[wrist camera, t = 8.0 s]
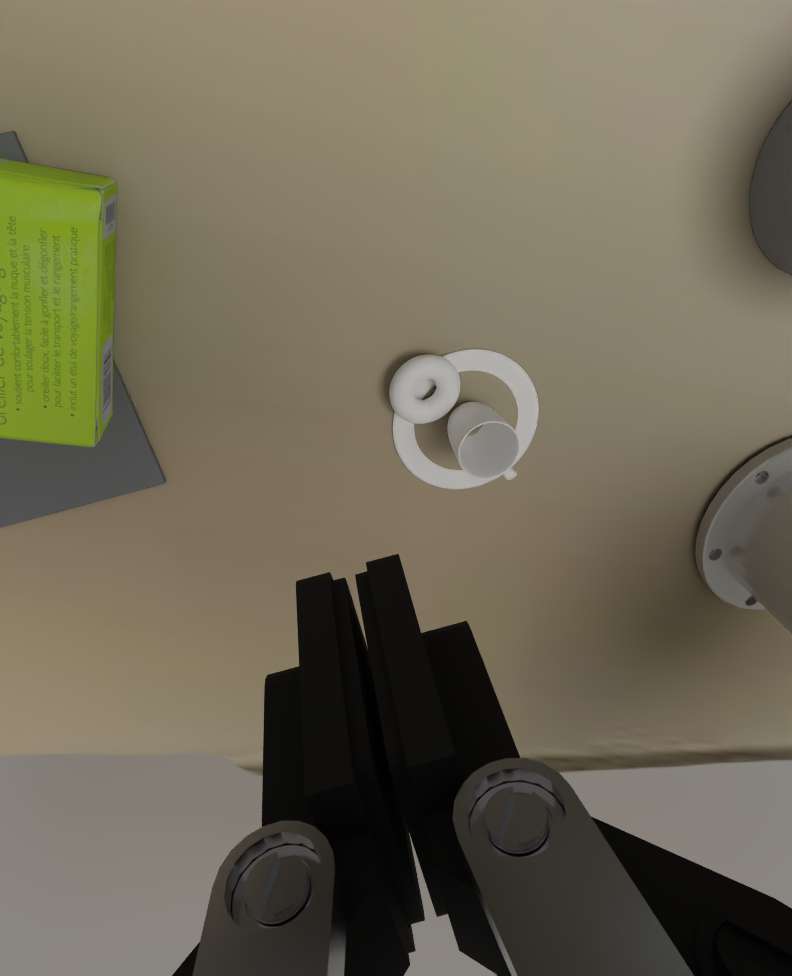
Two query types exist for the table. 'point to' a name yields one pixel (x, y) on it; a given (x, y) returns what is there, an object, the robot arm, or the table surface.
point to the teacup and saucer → (461, 417)
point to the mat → (74, 451)
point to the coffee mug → (774, 194)
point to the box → (56, 303)
